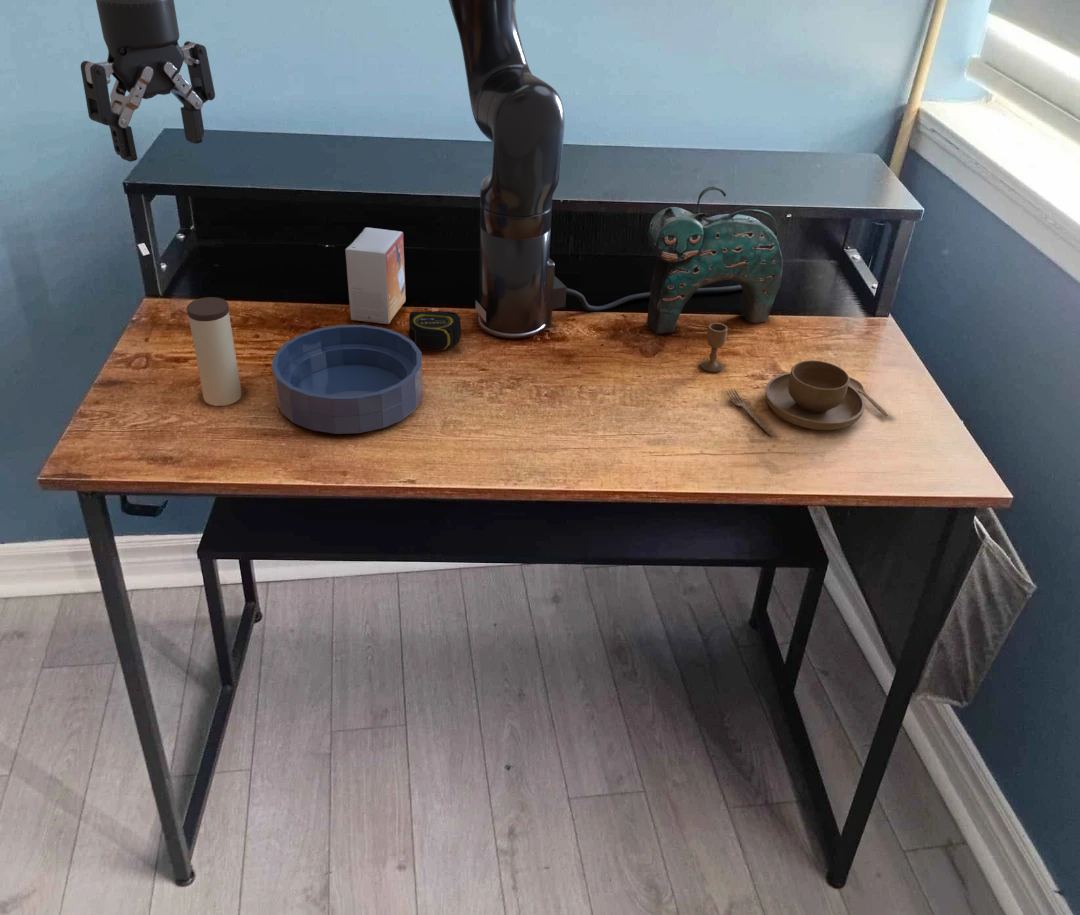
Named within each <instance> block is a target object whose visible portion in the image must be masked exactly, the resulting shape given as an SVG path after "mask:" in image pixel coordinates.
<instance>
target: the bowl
mask: <svg viewBox="0 0 1080 915" xmlns="http://www.w3.org/2000/svg"><path fill="white" fill-rule="evenodd" d="M422 359H423V358H422V351H421V349H420V348H418V347H417V346H416V344H415V343H414V342H413V341H412V340H411V339H410V338H409V337H407V336H406V335H404V334H402V333H400V332H398V331H395V330H391V329H388V328H385V327H380V326H373V325H365V324H337V325H330V326H326V327H319V328H316V329H313V330H310V331H306V332H304V333H301V334H298V335H296V336H295V337H293V338H291V339H289V340H288V341H286V342H284V343H283V344H282V345H281V346H280V347H279V349H277V351H276V352H275V353H274V354H273V357H272V363H271V375H272V383H273V389H274V397H275V402H276V404H277V407H278V409H279V411H280V413H281V414H282V415H283V416H284V417H285V418H286V419H288V420H289V421H291V422H292V424H295V425H298V426H300V427H303V428H305V429H308V430H311V431H314V432H315V431H316V432H321V433H329V434H335V435H342V434H362V433H367V432H371V431H377V430H381V429H385V428H387V427H389V426H392V425H394V424H397V423H399V422H402V421H404V420H405V419H406V418H407V417H408V416H410V415H411V414H412V413H414V412H415V411H416V410H417V409H418V406H419V405H420V403H421V401H422V399H423V397H424V394H423V393H424V392H423V361H422Z"/></svg>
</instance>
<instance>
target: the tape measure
mask: <svg viewBox="0 0 1080 915" xmlns="http://www.w3.org/2000/svg"><path fill="white" fill-rule="evenodd" d="M408 325H409V328H408V336H409V337H408V338H409V339H410V340H412V341H413V342H414V343H415V344H416V346H417V347H418V349H420V350H426V351H434V352H435V351H445V350H449V349H452V348H454V347H455V346H456V345H458V343H459V342H460V340H461V336H462V326H461V316H460V315H459V314H458V313H457V312H454V311H445V310H444V311H443V310H441V311H439V310H438V311H437V310H436V311H435V310H433V311H432V310H431V311H430V310H429V311H410V312H409V316H408Z"/></svg>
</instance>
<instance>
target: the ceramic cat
mask: <svg viewBox="0 0 1080 915" xmlns="http://www.w3.org/2000/svg"><path fill="white" fill-rule="evenodd" d="M709 191H718V192H720V193H721V194H722V195H723V197H726V196H727V193H726V192H725V190H723V189H722V188H721V187H718V186H709V187H707V188H705V189H703V190H702V191H701V192H700V193H699V195H698V198H697V201H696V212H697V213H695V214H694V213H693V212H690V211H688V210H686V209H684V208H682V207H677V206H670V207H666V208H663V209H661V210H659V211H658V212H656V213H655V214H654V215H653V217H652V218H651V220H650V223H649V227H648V230H647V238H648V242H649V245H650V247H651V248H652V250H653V251H654V253H655V254H656V255H657V258H656V261H655V263H654V264H655V265H654V268H653V273H652V277H651V281H650V291H649V292H650V298H648V299H649V300H648V307H647V316H646V317H647V318H646V323H647V325H648V326H649V328H650V329H651V330H652V331H653V333H654V334H655V335H663V334H664V335H665V334H672V333H674V332H675V331H676V328H677V323H678V321H679V318H680V316H681V314H682V312H683V309H684V307H685V305H687V303H688V302H689V300H690V299H691V298H692V296H693V295H695V294H694V293H695V292H696V290H697V289H699V288H703V287H704V286H707V285H710V284H713V283H718V282H721V281H732V282H735V283H737V284H738V285H741V286H742V288H743V289H742V301H741V307H740V315H741V316H742V317H743V318H744V319H745V321H746V322H748V323H754V324H758V323H763V322H767V321H768V320H769V316H770V314H771V310H772V307H773V304H774V302H775V299H776V297H777V294H778V291H779V289H780V286H781V282H782V276H783V269H784V260H783V258H784V257H783V255H782V250H781V247H780V242H779V240H778V239H777V237H778V236H779V231H778V230H779V229H778V224H777V221H776V219H775V217H773V215H771V213H769V212H767V211H764V210H760V209H754V208H752V209H751V208H747V209H741V210H737V211H734V212H732V213H731V212H730V213H725V214H717V215H713V216H708V217H706V216H707V215H708V213H705V212H704V213H703V212H700V202H701V199H702V197H703V196H704V195H705V194H706V193H707V192H709ZM745 213H752V214H756V215H763V216H765V217H767V218H768V219H769V220H770V221H771V222H772V224H773V226H774V232H773V230H771V229H770V228H769V227H768V226H767V225H765V224H764V223H762V221H760V220H759V219H757V218H755V217H752V216H751V215H745Z"/></svg>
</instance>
